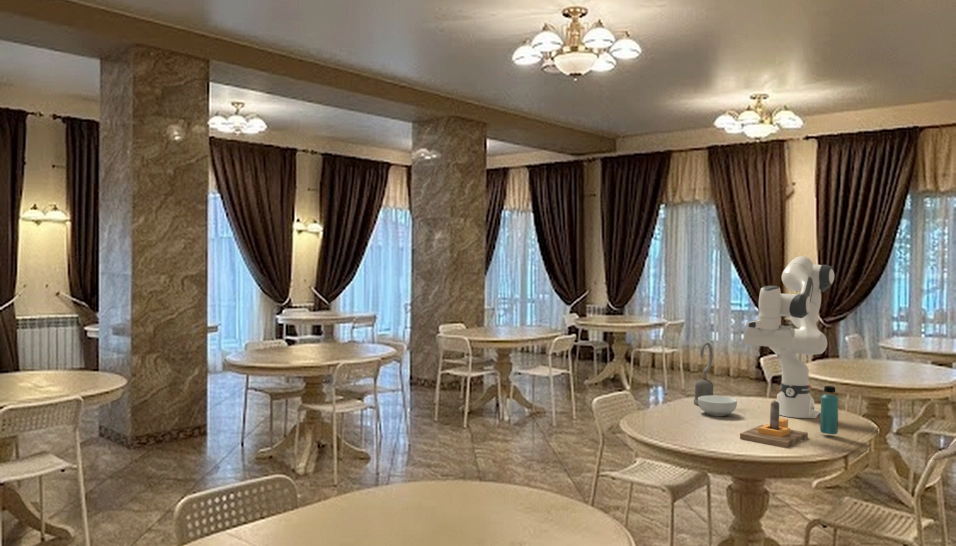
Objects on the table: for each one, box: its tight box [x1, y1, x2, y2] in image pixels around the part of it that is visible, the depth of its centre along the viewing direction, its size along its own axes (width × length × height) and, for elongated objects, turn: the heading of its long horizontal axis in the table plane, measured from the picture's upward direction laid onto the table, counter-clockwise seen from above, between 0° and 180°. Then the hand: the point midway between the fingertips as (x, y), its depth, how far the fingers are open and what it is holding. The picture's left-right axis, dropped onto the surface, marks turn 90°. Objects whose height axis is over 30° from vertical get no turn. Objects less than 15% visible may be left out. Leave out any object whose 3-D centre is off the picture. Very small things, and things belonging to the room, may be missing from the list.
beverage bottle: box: [819, 385, 839, 435], centre depth 287 cm, size 6×7×20 cm
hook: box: [693, 341, 714, 406], centre depth 346 cm, size 10×12×30 cm
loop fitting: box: [758, 417, 791, 437], centre depth 284 cm, size 15×9×4 cm, turn 137°
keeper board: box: [739, 400, 809, 448], centre depth 282 cm, size 22×18×15 cm
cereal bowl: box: [697, 395, 738, 417], centre depth 324 cm, size 17×17×7 cm
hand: (768, 357), depth 301 cm, fingers open, 8 cm apart
